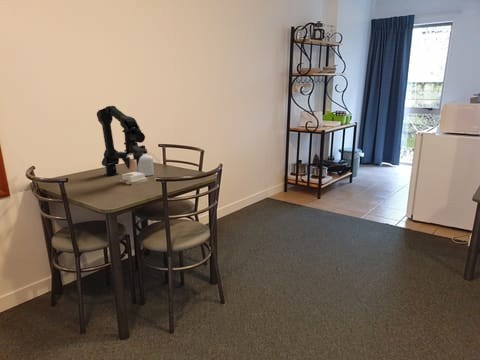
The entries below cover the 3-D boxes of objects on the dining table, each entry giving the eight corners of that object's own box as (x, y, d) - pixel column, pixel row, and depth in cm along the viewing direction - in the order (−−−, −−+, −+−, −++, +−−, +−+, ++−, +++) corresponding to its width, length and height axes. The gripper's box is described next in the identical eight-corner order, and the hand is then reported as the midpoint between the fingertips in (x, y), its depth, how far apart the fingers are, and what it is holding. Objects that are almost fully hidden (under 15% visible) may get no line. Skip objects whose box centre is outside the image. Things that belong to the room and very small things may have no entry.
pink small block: (126, 170, 206) (125, 159, 205) (133, 168, 210) (132, 158, 209) (132, 171, 204) (131, 161, 202) (139, 169, 207) (138, 159, 206)
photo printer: (152, 173, 226) (151, 154, 223) (155, 175, 223) (153, 155, 219) (136, 176, 221) (134, 156, 217) (138, 177, 217) (137, 157, 214)
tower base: (120, 183, 208) (119, 179, 207) (135, 179, 216) (135, 175, 216) (132, 186, 202) (132, 182, 201) (147, 182, 210) (147, 177, 210)
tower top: (122, 178, 208) (121, 174, 207) (135, 175, 214) (135, 171, 214) (131, 181, 202) (131, 177, 202) (144, 178, 209) (144, 173, 208)
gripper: (125, 144, 191) (128, 173, 195) (152, 139, 205) (154, 166, 209) (112, 142, 197) (115, 170, 201) (140, 138, 211) (142, 164, 216)
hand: (132, 167), depth 207 cm, fingers closed on pink small block, 5 cm apart
